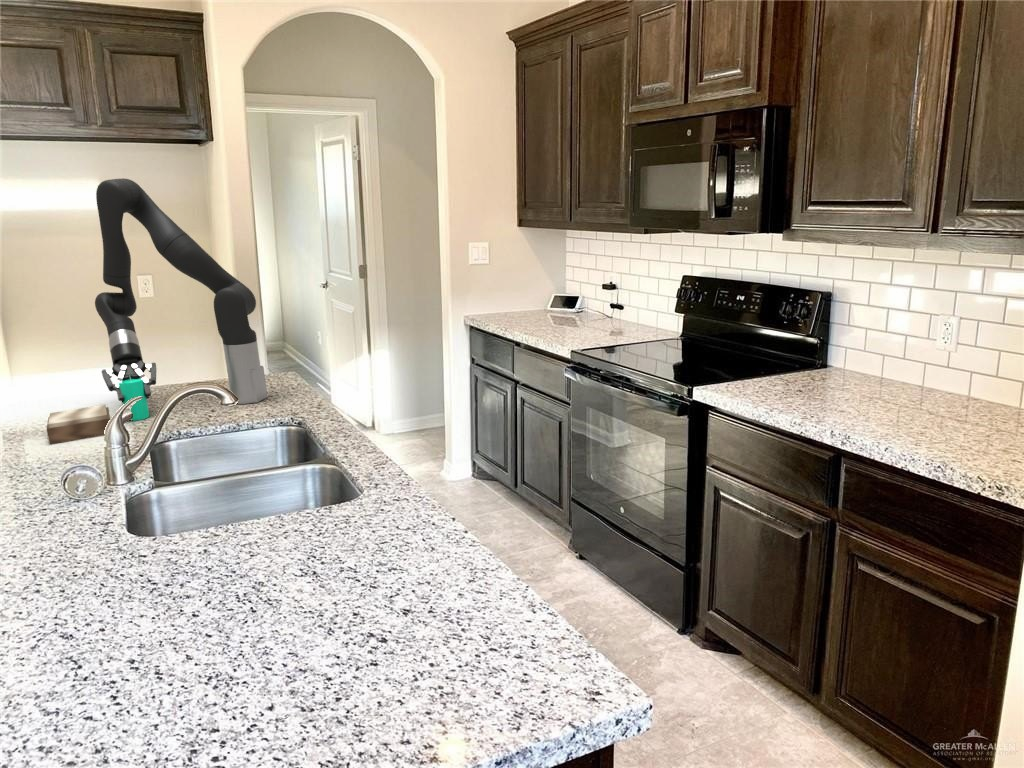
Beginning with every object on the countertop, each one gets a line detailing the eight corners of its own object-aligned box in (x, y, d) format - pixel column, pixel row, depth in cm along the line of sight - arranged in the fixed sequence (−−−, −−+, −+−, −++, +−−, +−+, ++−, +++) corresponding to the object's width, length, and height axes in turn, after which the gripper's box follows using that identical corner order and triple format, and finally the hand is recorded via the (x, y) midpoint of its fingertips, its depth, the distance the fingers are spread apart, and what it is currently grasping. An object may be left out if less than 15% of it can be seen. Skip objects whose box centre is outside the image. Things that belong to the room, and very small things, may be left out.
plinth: (110, 421, 206) (107, 403, 204) (112, 433, 194) (109, 414, 192) (51, 431, 199) (47, 413, 198) (49, 444, 187) (45, 425, 186)
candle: (142, 420, 204) (134, 377, 201) (121, 421, 205) (112, 378, 202) (153, 414, 210) (146, 372, 207) (132, 415, 210) (124, 373, 207)
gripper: (94, 345, 206) (104, 396, 198) (152, 337, 212) (163, 386, 205) (98, 361, 211) (107, 411, 204) (154, 353, 218) (164, 401, 211)
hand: (135, 398), depth 205 cm, fingers closed on candle, 5 cm apart
